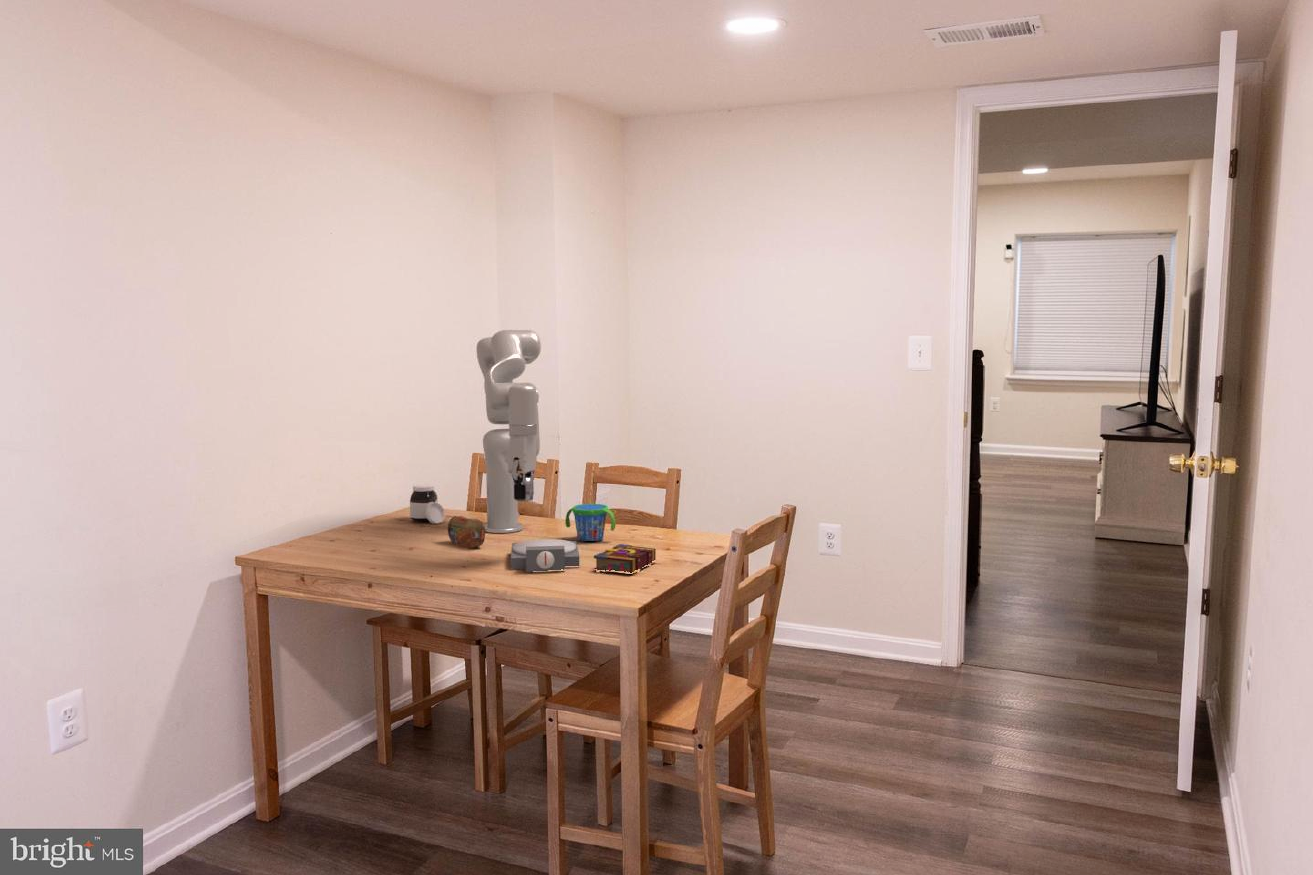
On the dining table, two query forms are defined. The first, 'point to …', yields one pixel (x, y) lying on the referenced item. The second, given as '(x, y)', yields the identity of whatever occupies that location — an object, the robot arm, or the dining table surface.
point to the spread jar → (425, 505)
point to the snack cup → (590, 521)
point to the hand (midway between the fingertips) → (523, 496)
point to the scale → (544, 555)
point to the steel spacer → (528, 489)
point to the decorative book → (625, 558)
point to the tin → (466, 531)
